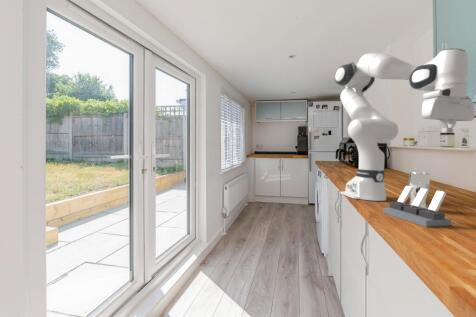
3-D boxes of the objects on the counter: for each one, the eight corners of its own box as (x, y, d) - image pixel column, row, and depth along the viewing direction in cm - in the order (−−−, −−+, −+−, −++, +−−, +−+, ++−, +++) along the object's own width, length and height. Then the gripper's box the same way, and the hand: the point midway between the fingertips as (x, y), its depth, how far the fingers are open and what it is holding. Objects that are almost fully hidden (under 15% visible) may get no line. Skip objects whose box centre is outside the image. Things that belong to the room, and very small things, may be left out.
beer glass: (403, 207, 104) (405, 171, 104) (413, 206, 107) (415, 171, 106) (421, 211, 98) (423, 173, 97) (431, 210, 101) (434, 173, 100)
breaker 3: (427, 208, 82) (436, 190, 83) (429, 210, 83) (438, 191, 83) (434, 210, 80) (444, 191, 81) (437, 212, 80) (446, 193, 81)
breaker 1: (397, 201, 94) (406, 185, 95) (398, 202, 94) (407, 186, 95) (402, 202, 92) (411, 186, 92) (404, 203, 92) (413, 187, 93)
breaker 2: (411, 204, 88) (420, 188, 89) (413, 206, 89) (422, 189, 89) (417, 206, 86) (427, 189, 87) (419, 207, 86) (429, 190, 87)
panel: (383, 212, 95) (383, 202, 94) (404, 211, 97) (405, 201, 97) (426, 226, 78) (426, 214, 78) (451, 225, 80) (451, 213, 80)
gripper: (462, 98, 96) (459, 134, 97) (419, 94, 91) (416, 131, 92) (481, 94, 90) (478, 133, 91) (436, 90, 85) (433, 130, 86)
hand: (447, 132), depth 91 cm, fingers closed
